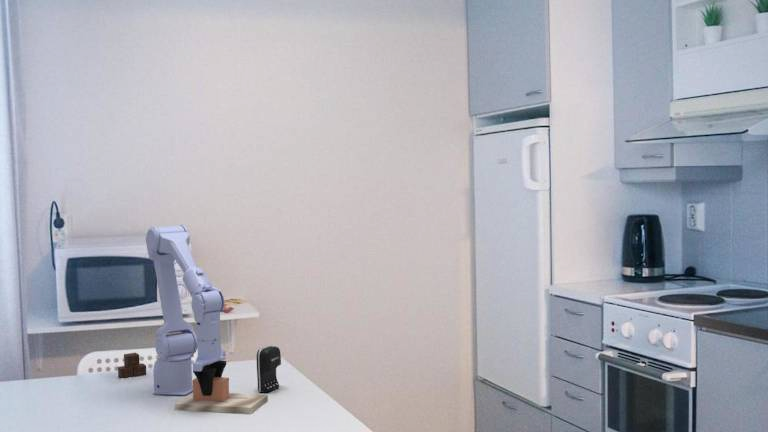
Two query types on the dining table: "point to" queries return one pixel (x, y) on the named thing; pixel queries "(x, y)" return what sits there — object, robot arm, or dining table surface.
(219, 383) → the block
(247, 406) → the board
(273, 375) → the battery charger
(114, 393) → the dining table surface
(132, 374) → the stack of crates
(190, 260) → the robot arm
